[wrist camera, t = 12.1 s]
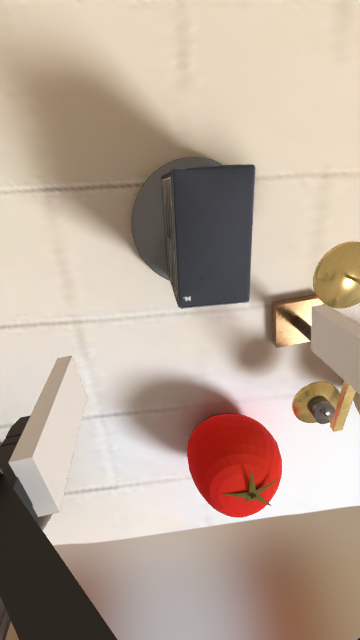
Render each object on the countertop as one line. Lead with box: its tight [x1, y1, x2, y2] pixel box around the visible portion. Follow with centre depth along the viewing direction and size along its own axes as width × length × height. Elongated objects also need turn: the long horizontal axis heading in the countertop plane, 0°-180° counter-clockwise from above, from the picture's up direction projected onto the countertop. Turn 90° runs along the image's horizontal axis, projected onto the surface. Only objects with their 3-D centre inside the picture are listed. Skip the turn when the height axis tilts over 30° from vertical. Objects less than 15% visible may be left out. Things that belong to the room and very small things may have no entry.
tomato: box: [187, 414, 282, 517], centre depth 41 cm, size 12×14×11 cm
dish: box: [132, 157, 222, 281], centre depth 33 cm, size 13×13×1 cm
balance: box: [272, 241, 360, 432], centre depth 33 cm, size 6×24×15 cm, turn 8°
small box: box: [161, 165, 255, 309], centre depth 28 cm, size 11×6×10 cm, turn 3°
